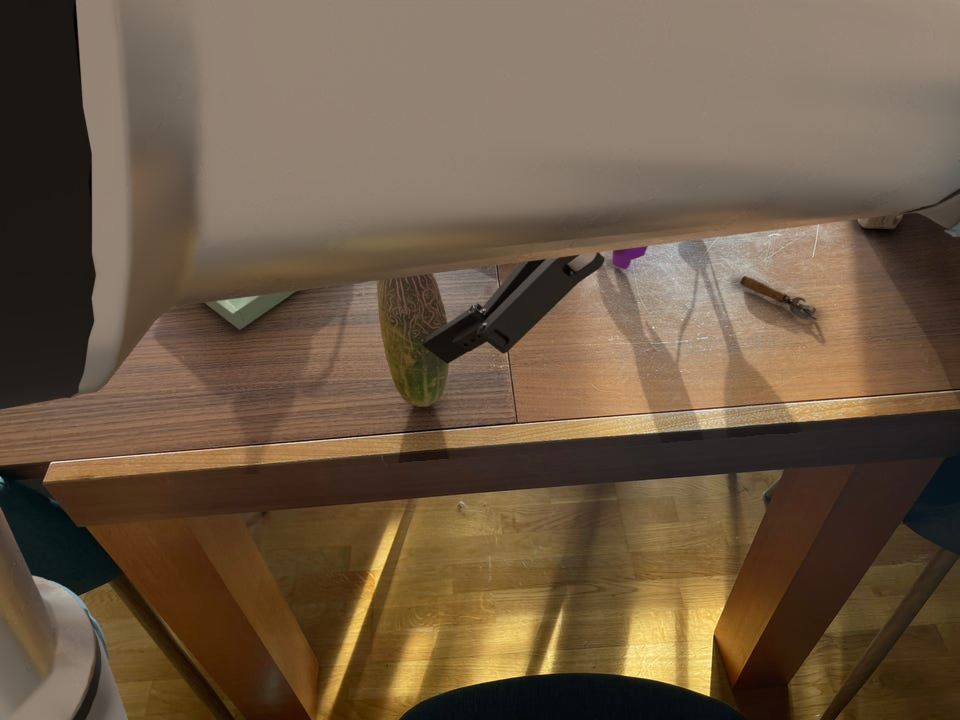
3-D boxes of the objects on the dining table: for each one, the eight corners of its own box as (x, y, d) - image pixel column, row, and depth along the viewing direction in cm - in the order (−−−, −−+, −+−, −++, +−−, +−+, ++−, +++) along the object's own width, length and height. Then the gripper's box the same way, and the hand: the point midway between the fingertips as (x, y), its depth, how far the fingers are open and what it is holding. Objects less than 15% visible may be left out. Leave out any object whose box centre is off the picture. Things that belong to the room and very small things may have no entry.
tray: (239, 330, 82) (232, 314, 80) (172, 278, 88) (164, 261, 86) (357, 249, 90) (353, 232, 88) (288, 207, 96) (283, 190, 94)
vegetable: (381, 392, 75) (345, 239, 60) (430, 360, 78) (406, 206, 62) (416, 428, 72) (387, 275, 57) (466, 394, 74) (450, 240, 59)
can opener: (738, 285, 82) (740, 278, 82) (749, 275, 83) (752, 267, 83) (811, 326, 78) (815, 318, 77) (823, 314, 79) (826, 307, 78)
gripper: (686, 319, 43) (454, 432, 57) (695, 96, 58) (512, 228, 72) (600, 238, 40) (378, 379, 53) (635, 27, 55) (456, 178, 69)
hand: (455, 292), depth 63 cm, fingers open, 13 cm apart
